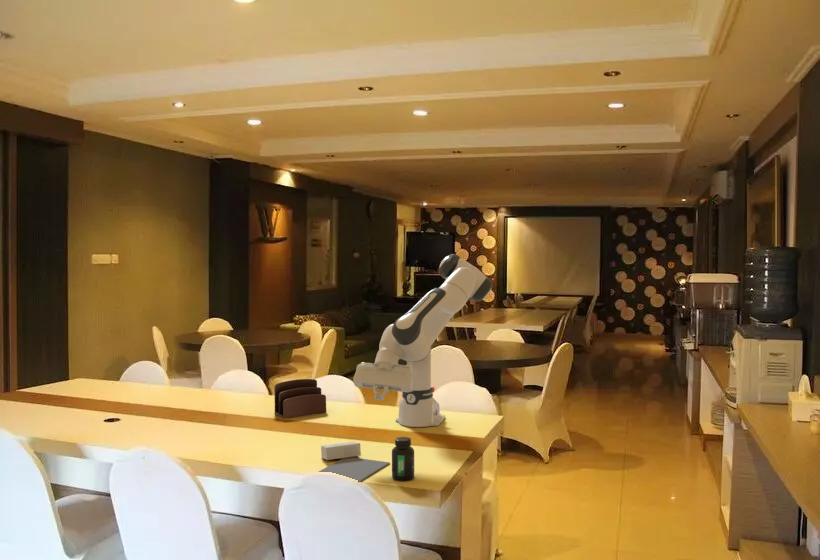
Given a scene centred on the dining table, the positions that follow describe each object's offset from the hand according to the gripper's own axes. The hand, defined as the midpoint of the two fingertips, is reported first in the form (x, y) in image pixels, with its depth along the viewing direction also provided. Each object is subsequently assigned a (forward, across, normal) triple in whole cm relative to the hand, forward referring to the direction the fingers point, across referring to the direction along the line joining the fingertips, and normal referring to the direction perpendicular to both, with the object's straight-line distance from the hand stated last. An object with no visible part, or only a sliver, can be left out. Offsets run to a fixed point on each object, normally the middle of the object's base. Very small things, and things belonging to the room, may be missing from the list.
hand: (378, 398), depth 233 cm
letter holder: (-23, -46, +57) cm, 77 cm away
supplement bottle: (+27, +14, -1) cm, 31 cm away
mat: (+24, -4, +4) cm, 25 cm away
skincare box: (+12, -6, +13) cm, 19 cm away
